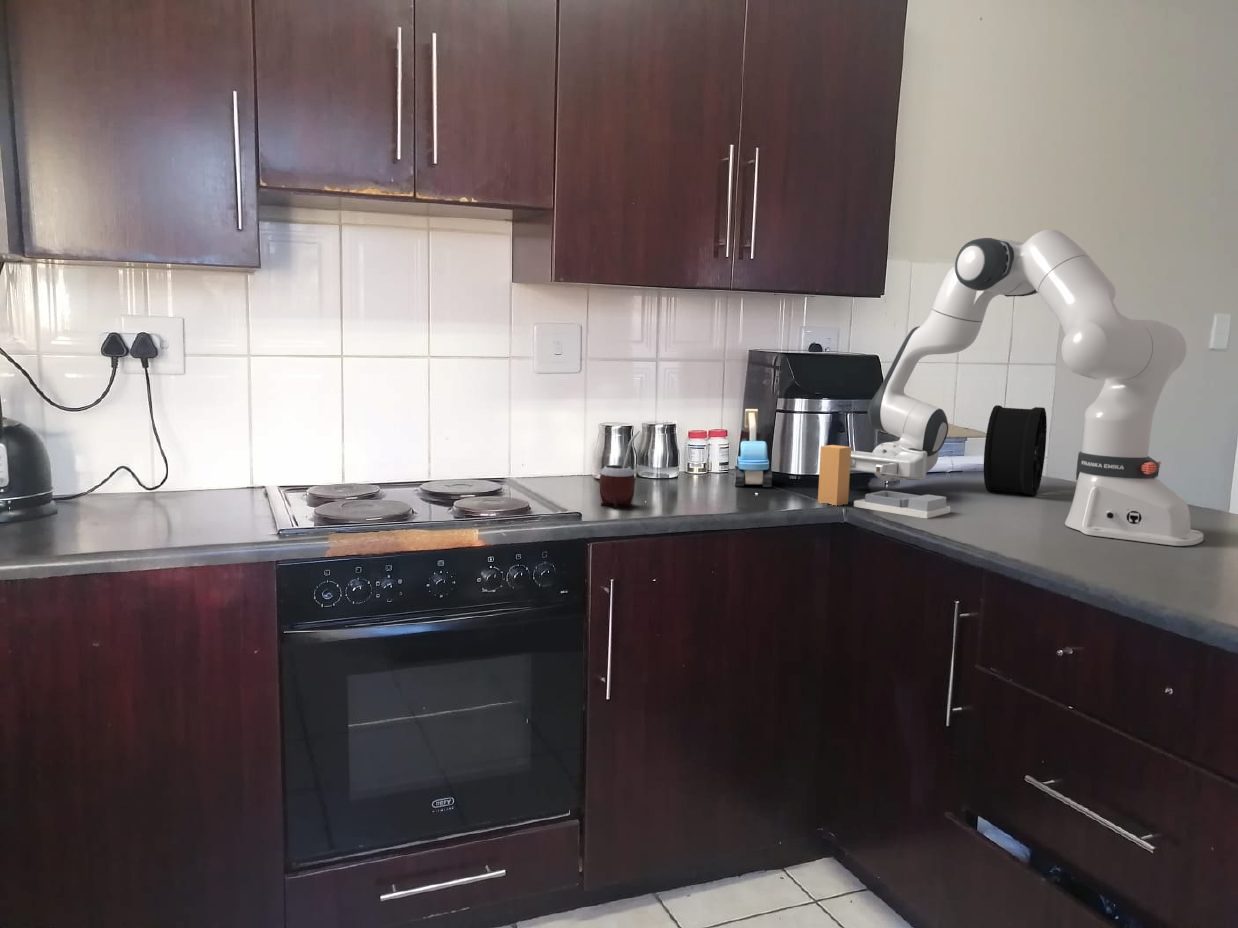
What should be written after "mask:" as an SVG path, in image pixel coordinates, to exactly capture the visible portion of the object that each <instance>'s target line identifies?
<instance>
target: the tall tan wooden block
mask: <svg viewBox="0 0 1238 928" xmlns="http://www.w3.org/2000/svg"><path fill="white" fill-rule="evenodd" d="M851 451H852V447H851V446H846V445H836V444H830V445H821V446H820V451H819V452H820V455H819V474H818V491H817V492H818V493H817V503H818V502H819V503H818V504H821V503H829V504H832V505H831V506H833V505H836V506H835V507H838V506H844V505H848V503H849V493H850V474H851V470H850V460H851ZM843 504H844V505H843ZM837 505H838V506H837Z"/></svg>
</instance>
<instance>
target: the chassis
mask: <svg viewBox="0 0 1238 928" xmlns="http://www.w3.org/2000/svg"><path fill="white" fill-rule="evenodd" d="M853 507H854V508H861V509H866V510H873V511H877V512H883V513H891V514H897V515H901V516H907V517H908V516H909V517H914V518H921V519H931V518H934V517H939V516H942V515H945V514H949V513H951V506H949V505H948V506H947V496H942V495H933V494H922V495H920V494H919V495H918V494H913V493H906V492H899V491H891V490H880V491H876V492H870V493H866V494H864V498H862V499H856V500H853Z"/></svg>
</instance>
